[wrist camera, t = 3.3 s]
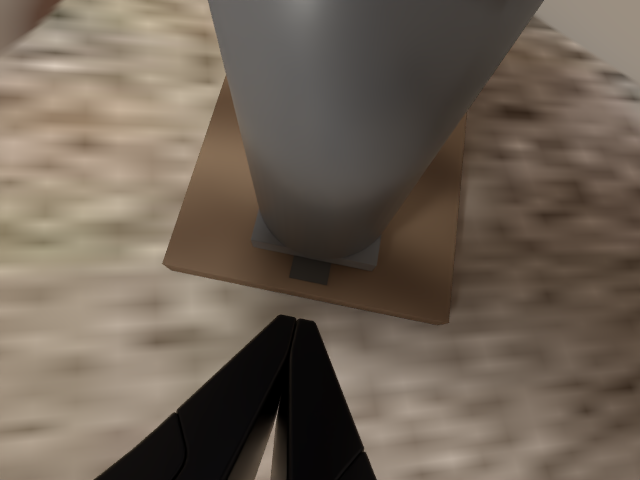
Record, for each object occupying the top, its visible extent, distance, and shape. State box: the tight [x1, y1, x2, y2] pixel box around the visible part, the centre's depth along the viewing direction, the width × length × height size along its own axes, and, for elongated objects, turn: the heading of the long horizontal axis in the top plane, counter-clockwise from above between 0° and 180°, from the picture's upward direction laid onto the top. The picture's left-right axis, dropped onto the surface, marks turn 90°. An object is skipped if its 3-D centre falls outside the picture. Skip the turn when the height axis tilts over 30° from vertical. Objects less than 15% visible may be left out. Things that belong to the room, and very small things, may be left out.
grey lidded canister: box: [208, 0, 544, 271], centre depth 9 cm, size 6×6×14 cm
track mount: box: [162, 76, 467, 325], centre depth 16 cm, size 15×12×5 cm
